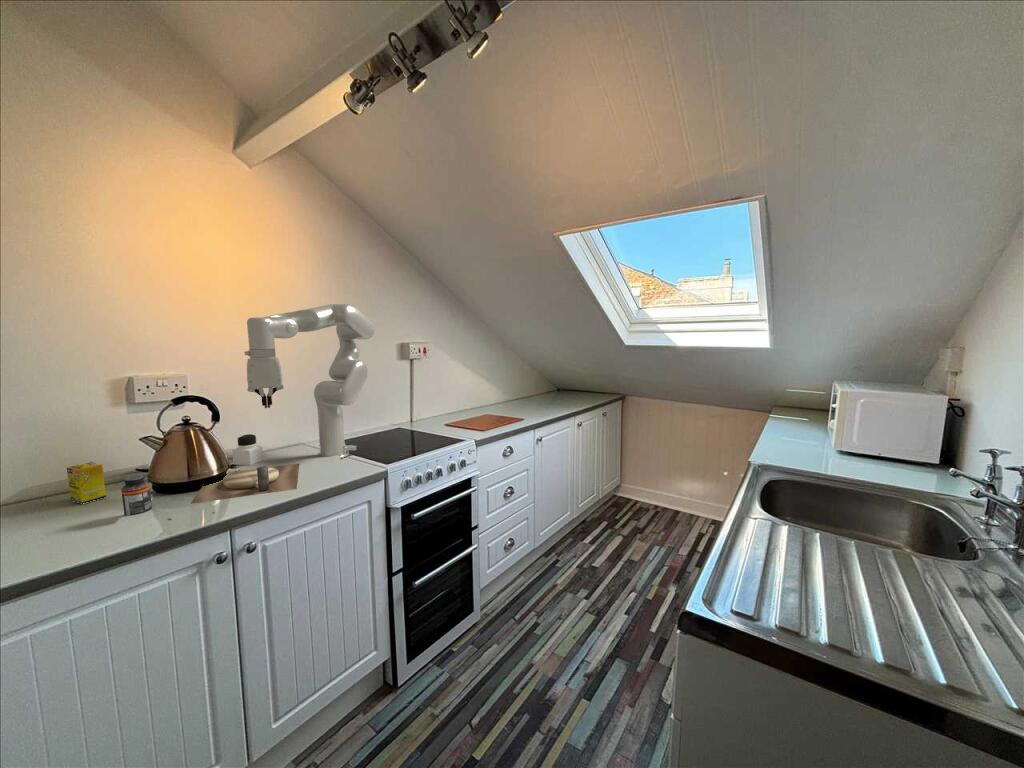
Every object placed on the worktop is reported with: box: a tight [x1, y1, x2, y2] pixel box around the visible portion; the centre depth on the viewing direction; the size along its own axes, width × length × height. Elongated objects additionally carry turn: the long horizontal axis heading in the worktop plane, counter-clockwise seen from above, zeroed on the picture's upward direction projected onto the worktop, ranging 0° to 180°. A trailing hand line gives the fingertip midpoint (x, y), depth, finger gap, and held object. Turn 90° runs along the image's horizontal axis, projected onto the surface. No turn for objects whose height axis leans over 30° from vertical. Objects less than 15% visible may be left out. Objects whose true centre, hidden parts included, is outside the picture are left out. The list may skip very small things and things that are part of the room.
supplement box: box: [66, 461, 107, 505], centre depth 129 cm, size 6×6×11 cm
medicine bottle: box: [231, 433, 264, 466], centre depth 162 cm, size 7×7×12 cm
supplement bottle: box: [120, 474, 153, 516], centre depth 118 cm, size 6×6×11 cm
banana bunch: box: [223, 465, 279, 491], centre depth 140 cm, size 22×16×7 cm
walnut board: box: [190, 463, 300, 504], centre depth 142 cm, size 28×28×2 cm
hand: (267, 407), depth 145 cm, fingers closed
